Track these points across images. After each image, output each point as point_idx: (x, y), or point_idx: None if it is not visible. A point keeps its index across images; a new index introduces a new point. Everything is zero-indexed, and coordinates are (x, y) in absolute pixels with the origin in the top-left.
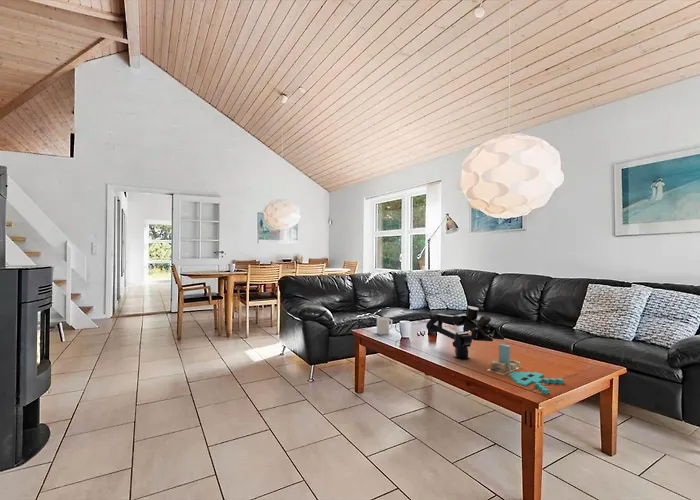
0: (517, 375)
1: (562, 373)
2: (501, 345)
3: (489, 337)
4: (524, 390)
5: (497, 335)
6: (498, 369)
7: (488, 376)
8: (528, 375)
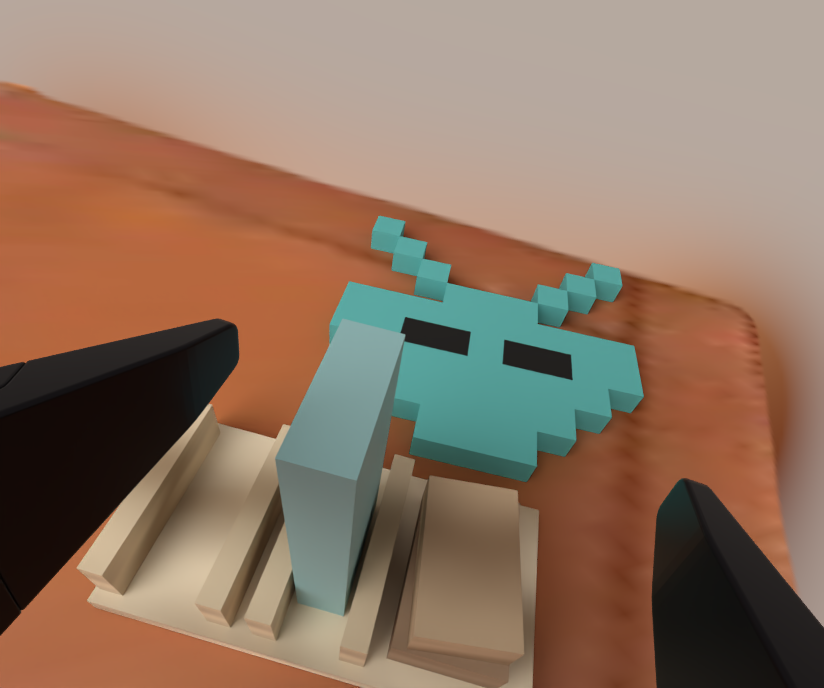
0: (503, 404)
1: (193, 231)
2: (371, 436)
3: (768, 568)
4: (659, 364)
5: (37, 479)
6: None
7: (639, 658)
8: (443, 346)
